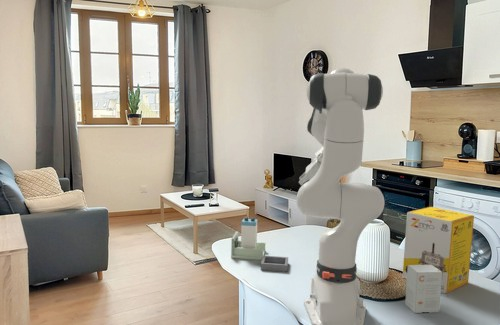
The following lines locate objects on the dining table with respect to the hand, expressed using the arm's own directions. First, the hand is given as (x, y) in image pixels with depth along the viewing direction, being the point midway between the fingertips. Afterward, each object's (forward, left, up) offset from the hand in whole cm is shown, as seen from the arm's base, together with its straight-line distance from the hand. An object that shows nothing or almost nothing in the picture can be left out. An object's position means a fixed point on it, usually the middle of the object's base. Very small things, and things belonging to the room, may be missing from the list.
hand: (299, 181), depth 170 cm
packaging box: (-18, -51, -32) cm, 62 cm away
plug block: (-4, +20, -30) cm, 37 cm away
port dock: (-4, +20, -31) cm, 38 cm away
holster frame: (-16, +8, -31) cm, 36 cm away
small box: (-42, -40, -32) cm, 66 cm away
